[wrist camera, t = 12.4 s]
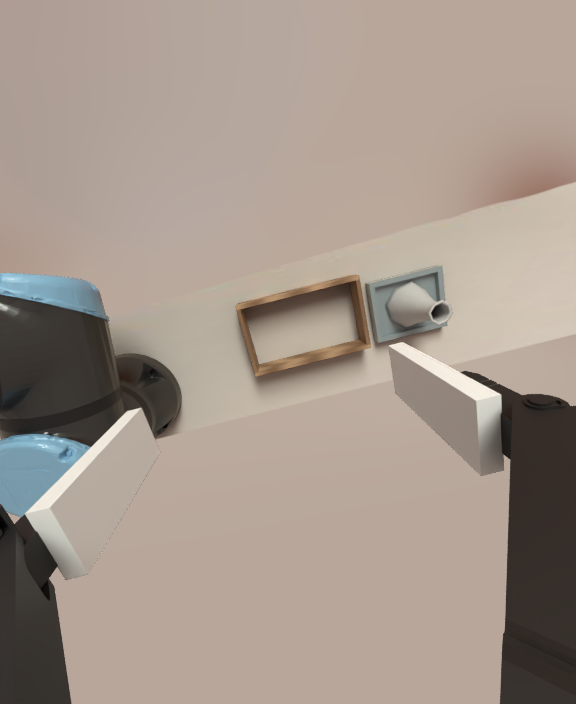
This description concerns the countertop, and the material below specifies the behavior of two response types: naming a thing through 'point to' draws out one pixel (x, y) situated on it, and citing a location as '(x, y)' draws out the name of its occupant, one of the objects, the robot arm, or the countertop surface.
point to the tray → (382, 291)
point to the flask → (416, 306)
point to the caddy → (317, 354)
